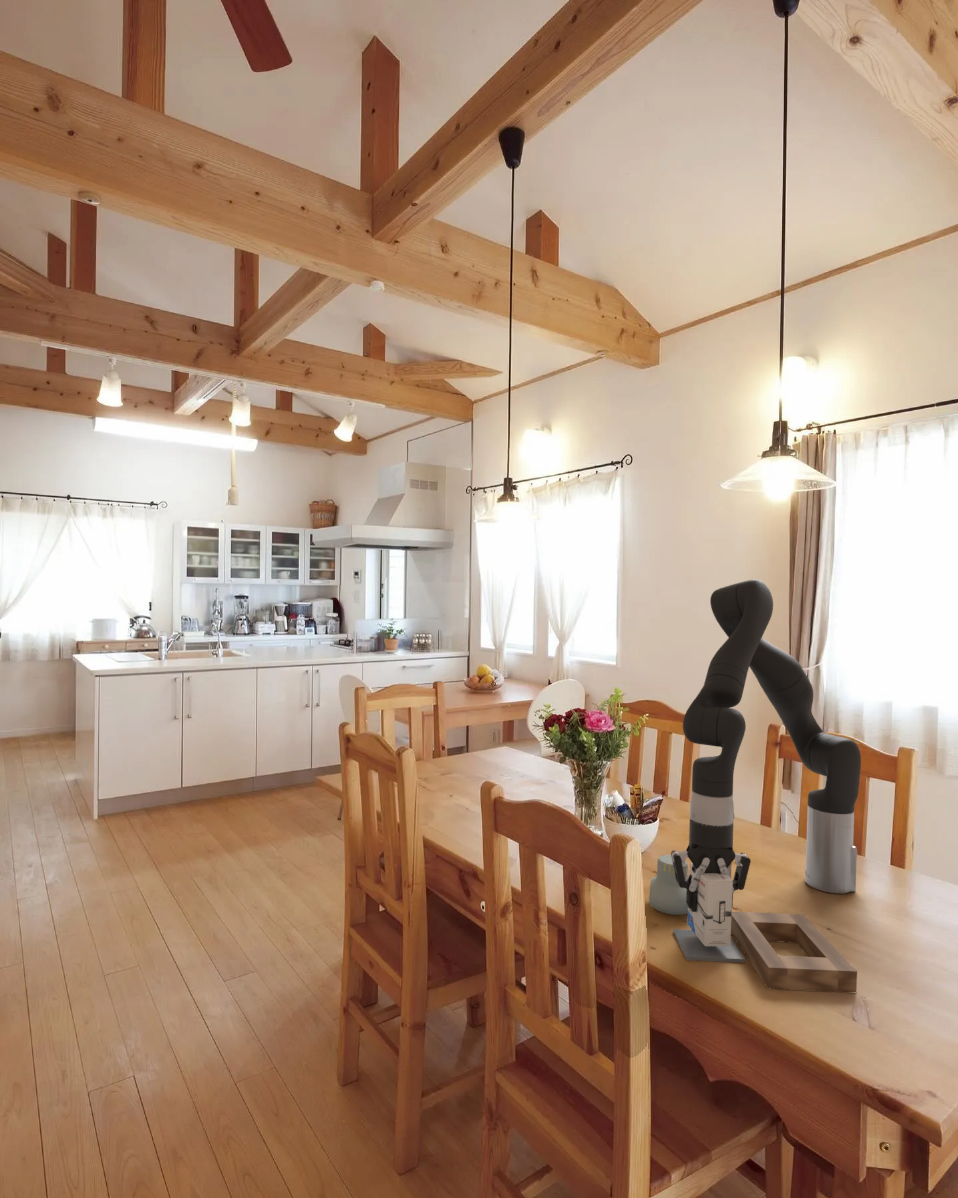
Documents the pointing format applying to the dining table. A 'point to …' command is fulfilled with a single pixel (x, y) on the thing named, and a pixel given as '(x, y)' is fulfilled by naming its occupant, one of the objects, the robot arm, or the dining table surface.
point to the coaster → (706, 949)
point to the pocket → (792, 972)
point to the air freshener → (668, 888)
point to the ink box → (712, 910)
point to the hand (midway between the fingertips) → (708, 910)
